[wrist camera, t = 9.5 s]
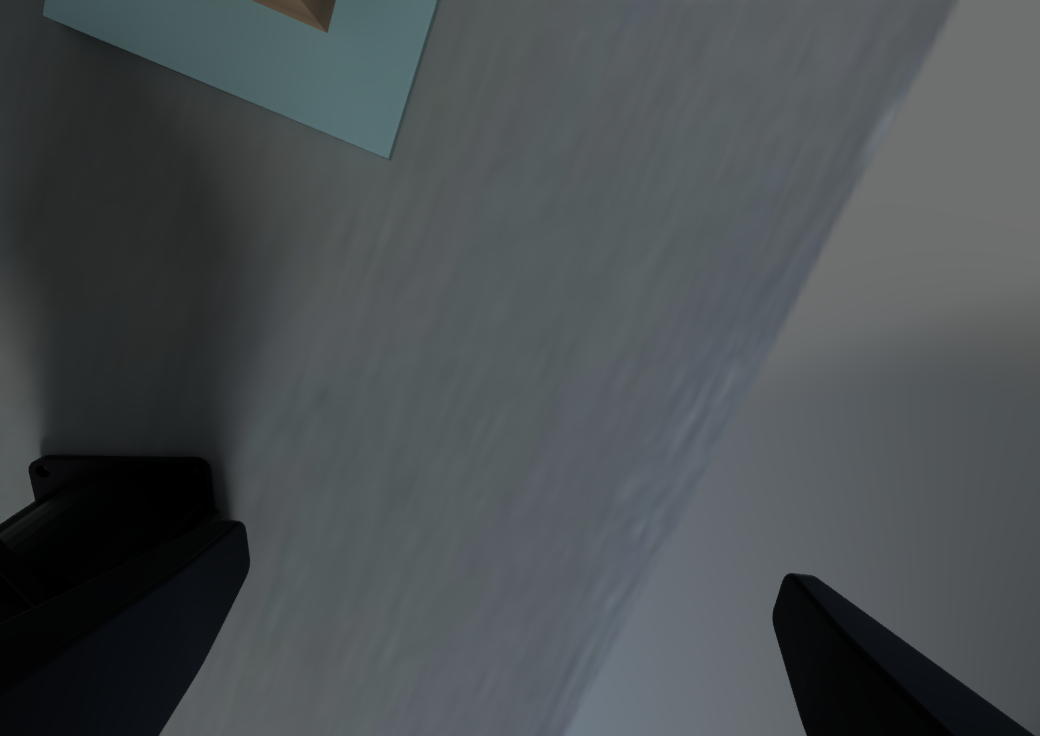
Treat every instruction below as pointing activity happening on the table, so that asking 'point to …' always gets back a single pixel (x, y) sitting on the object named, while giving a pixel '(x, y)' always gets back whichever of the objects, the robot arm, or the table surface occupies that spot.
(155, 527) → the robot arm
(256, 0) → the wooden block
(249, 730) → the table surface
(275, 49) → the teal tile
